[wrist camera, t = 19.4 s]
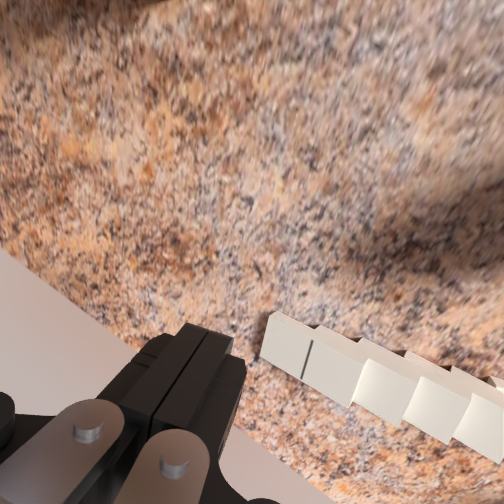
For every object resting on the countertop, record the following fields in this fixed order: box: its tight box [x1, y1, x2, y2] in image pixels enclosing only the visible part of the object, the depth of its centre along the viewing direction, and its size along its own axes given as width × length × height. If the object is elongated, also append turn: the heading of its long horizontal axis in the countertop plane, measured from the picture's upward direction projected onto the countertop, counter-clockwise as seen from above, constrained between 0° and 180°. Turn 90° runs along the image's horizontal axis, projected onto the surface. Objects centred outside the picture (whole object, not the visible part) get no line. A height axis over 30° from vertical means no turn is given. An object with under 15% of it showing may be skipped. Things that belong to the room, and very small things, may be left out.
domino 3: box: [358, 337, 472, 445], centre depth 32 cm, size 2×5×10 cm
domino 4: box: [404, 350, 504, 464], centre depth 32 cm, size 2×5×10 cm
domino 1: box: [260, 311, 369, 409], centre depth 34 cm, size 2×5×10 cm
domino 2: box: [315, 325, 421, 428], centre depth 33 cm, size 2×5×10 cm
